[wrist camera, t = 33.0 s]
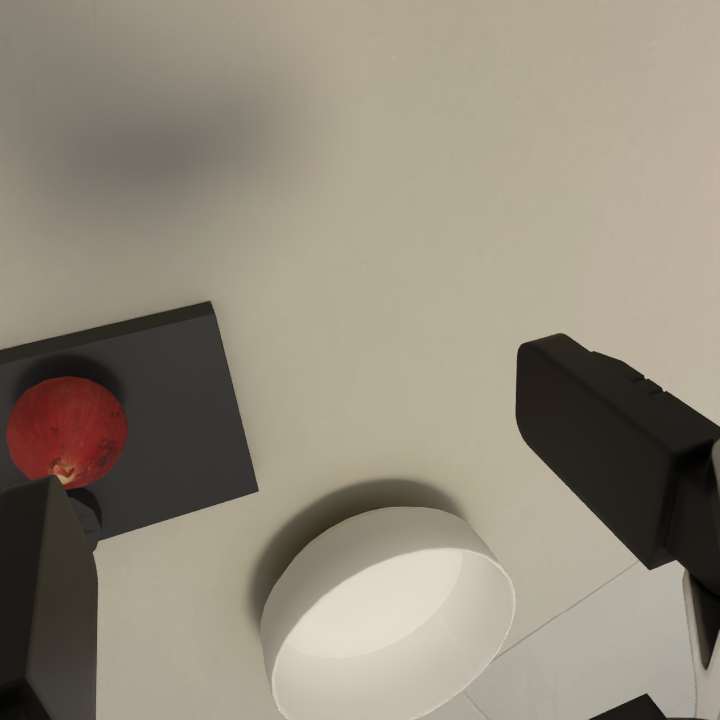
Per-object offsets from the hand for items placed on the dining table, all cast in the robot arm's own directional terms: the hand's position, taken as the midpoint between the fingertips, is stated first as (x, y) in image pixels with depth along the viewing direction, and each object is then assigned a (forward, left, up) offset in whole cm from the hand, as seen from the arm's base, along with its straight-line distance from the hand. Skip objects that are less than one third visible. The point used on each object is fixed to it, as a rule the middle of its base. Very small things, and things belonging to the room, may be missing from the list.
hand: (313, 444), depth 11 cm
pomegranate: (-9, -12, -26) cm, 30 cm away
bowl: (+7, -36, -28) cm, 46 cm away
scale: (-8, -16, -28) cm, 33 cm away
